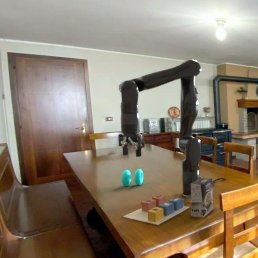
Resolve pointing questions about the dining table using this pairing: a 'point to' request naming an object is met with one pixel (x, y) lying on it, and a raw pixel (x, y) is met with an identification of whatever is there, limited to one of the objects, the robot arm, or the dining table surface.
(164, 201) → the left block
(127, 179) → the donuts
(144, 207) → the left block
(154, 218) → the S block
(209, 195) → the coffee box
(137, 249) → the dining table surface
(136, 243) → the dining table surface
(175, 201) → the right block
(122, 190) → the dining table surface
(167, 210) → the right block
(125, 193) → the dining table surface
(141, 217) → the board
